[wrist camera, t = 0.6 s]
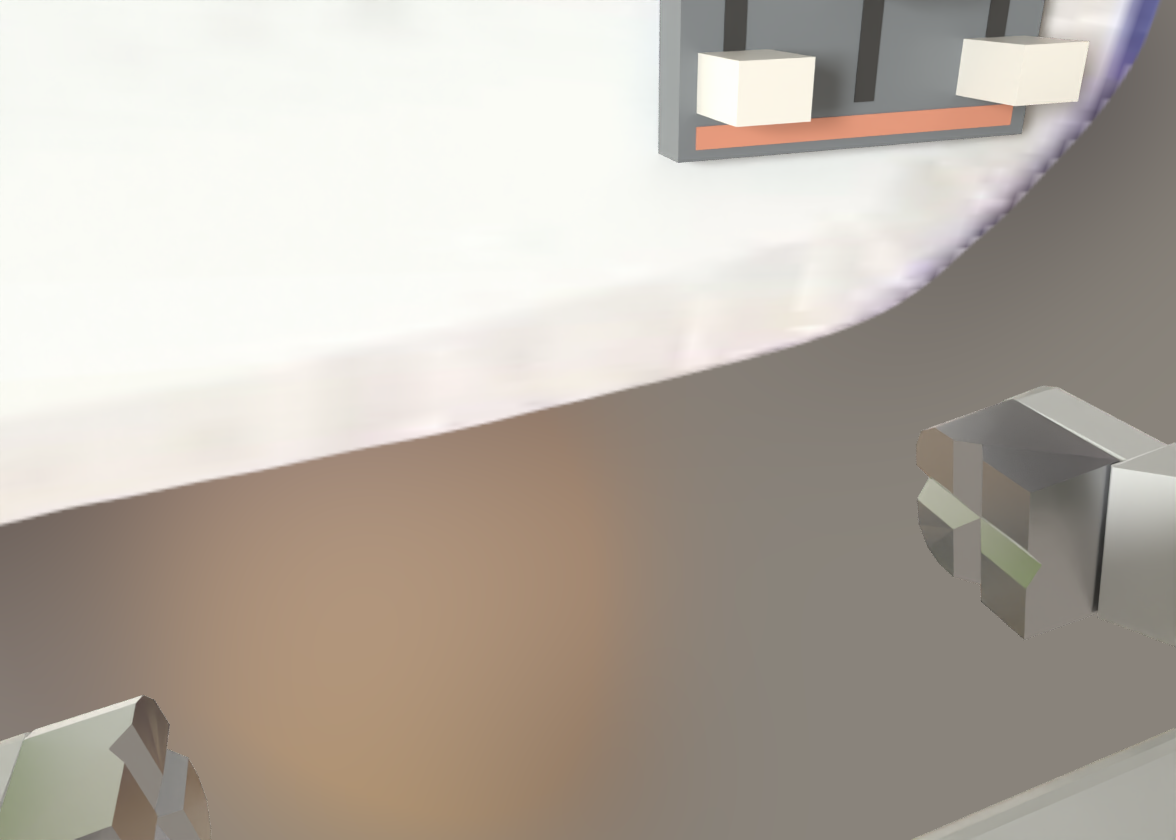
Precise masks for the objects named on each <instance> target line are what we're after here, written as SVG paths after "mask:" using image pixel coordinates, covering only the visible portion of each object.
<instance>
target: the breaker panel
mask: <svg viewBox="0 0 1176 840" xmlns="http://www.w3.org/2000/svg"><path fill="white" fill-rule="evenodd" d="M1044 1H1045V0H660V49H659V154H661V155H663V156H665V157H667V158H669V159H671V160H673V161H676V162H678V163H681V162H693V161H705V160H717V159H728V158H740V157H752V156H764V155H776V154H788V153H800V152H812V151H824V150H835V149H847V148H859V147H871V146H883V145H895V144H907V143H919V142H931V141H942V140H954V139H966V138H978V137H990V136H1002V135H1014V134H1021V133H1022V128H1023V122H1024V116H1025V110H1026V105H1037V104H1050V103H1063V102H1077V101H1078V98H1079V93H1080V88H1081V83H1082V78H1083V73H1084V67H1085V62H1086V57H1087V52H1088V47H1089V42H1090V41H1079V40H1068V39H1057V38H1046V37H1038V36H1039V30H1040V24H1041V18H1042V13H1043V7H1044Z"/></svg>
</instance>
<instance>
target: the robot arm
mask: <svg viewBox="0 0 1176 840" xmlns="http://www.w3.org/2000/svg"><path fill="white" fill-rule="evenodd" d="M916 465H917V466H918V467H919V468H920V469H921V470H922V471H923V472H924V473H925V474H926V475H927V476H928V477H929V479H928V481H927V482H926V484H925V486H924V488H923V490H922V492H921V493H920V495H919V497H918V498H917V502H918V503H917V504H918V518H919V526H920V529H921V531H922V534H923V536H924V539H925V542H926V544H927V547H928V548H929V550H930V551H931V553H932V554H933V556H934V557H935V558H936V560H937V561H938V563H939V564H940V565H941V566H942V567H943V568H944V569H945V570H946V571H948V572H949V573H950V574H951V575H952V576H953V577H955V578H958V579H962V580H965V581H969V582H972V583H976V584H979V585H980V593H981V602H982V603H983V604H984V605H985V606H986V607H988V608H989V609H990V610H991V611H992V612H993V613H994V614H996V615H997V616H998V617H999V618H1000V619H1001V620H1002V621H1003V622H1004V623H1006V624H1007V625H1008V626H1009V627H1010V628H1011V629H1012V630H1014V631H1015V632H1016V633H1017V634H1018V635H1019V636H1020V637H1022V638H1023V639H1024V640H1025V639H1028V638H1031V637H1034V636H1036V635H1039V634H1042V633H1045V632H1048V631H1050V630H1053V629H1056V628H1059V627H1061V626H1064V625H1067V624H1070V623H1072V622H1075V621H1078V620H1081V619H1084V618H1087V617H1089V616H1092V615H1095V614H1098V616H1097V618H1099V619H1102V620H1105V621H1107V622H1110V623H1113V624H1116V625H1118V626H1121V627H1123V628H1126V629H1129V630H1131V631H1134V632H1137V633H1139V634H1142V635H1145V636H1147V637H1150V638H1153V639H1156V640H1158V641H1161V642H1163V643H1166V644H1169V645H1171V646H1174V647H1176V442H1175V443H1172V444H1170V445H1166V444H1165V443H1163V442H1161V441H1159V440H1157V439H1155V438H1153V437H1151V436H1150V435H1148V434H1145V433H1144V432H1142V431H1140V430H1138V429H1136V428H1134V427H1132V426H1131V425H1129V424H1127V423H1125V422H1123V421H1121V420H1119V419H1117V418H1115V417H1113V416H1112V415H1110V414H1108V413H1106V412H1104V411H1102V410H1100V409H1098V408H1096V407H1094V406H1093V405H1091V404H1089V403H1087V402H1085V401H1083V400H1081V399H1079V398H1077V397H1075V396H1074V395H1072V394H1069V393H1068V392H1066V391H1064V390H1062V389H1060V388H1058V387H1052V386H1040V387H1038V388H1035V389H1032V390H1030V391H1027V392H1024V393H1022V394H1019V395H1016V396H1014V397H1011V398H1008V399H1006V400H1003V401H1002V402H1001V403H999V404H996V405H993V406H990V407H988V408H985V409H982V410H979V411H976V412H973V413H970V414H967V415H965V416H962V417H959V418H956V419H953V420H950V421H947V422H945V423H942V424H939V425H936V426H933V427H930V428H928V429H925V430H922V431H921V432H920V435H919V438H918V441H917V444H916ZM169 726H170V724H169V723H168V721H167V720H166V718H165V716H164V715H163V713H162V711H161V710H160V708H159V706H158V705H157V703H156V702H155V700H154V699H151V698H149V697H147V696H144V695H142V696H139V697H136V698H133V699H129V700H126V701H123V702H120V703H117V704H114V705H111V706H108V707H104V708H101V709H98V710H95V711H92V712H89V713H86V714H82V715H80V716H76V717H73V718H70V719H67V720H64V721H61V722H57V723H55V724H51V725H48V726H45V727H42V728H39V729H35V730H34V731H33V732H28V733H24V734H21V735H18V736H15V737H12V738H9V739H6V740H3V741H0V840H211V825H210V818H209V811H208V805H207V799H206V796H205V793H204V790H203V788H202V785H201V782H200V779H199V776H198V774H197V773H196V771H195V769H194V767H193V765H192V763H191V762H190V760H189V758H188V757H185V756H183V755H180V754H178V753H176V752H173V751H171V750H168V749H167V742H168V734H169ZM912 840H1176V728H1173V729H1171V730H1169V731H1166V732H1164V733H1162V734H1159V735H1157V736H1155V737H1152V738H1150V739H1147V740H1145V741H1143V742H1140V743H1138V744H1136V745H1133V746H1131V747H1129V748H1126V749H1124V750H1121V751H1119V752H1117V753H1114V754H1112V755H1110V756H1107V757H1105V758H1103V759H1100V760H1098V761H1096V762H1093V763H1091V764H1088V765H1086V766H1084V767H1081V768H1079V769H1077V770H1074V771H1072V772H1070V773H1067V774H1065V775H1062V776H1061V777H1058V778H1056V779H1053V780H1051V781H1048V782H1046V783H1044V784H1041V785H1039V786H1037V787H1034V788H1032V789H1029V790H1027V791H1025V792H1023V793H1020V794H1018V795H1016V796H1013V797H1011V798H1008V799H1006V800H1004V801H1001V802H999V803H996V804H994V805H992V806H989V807H987V808H985V809H982V810H980V811H978V812H975V813H973V814H971V815H968V816H966V817H964V818H961V819H959V820H956V821H954V822H952V823H949V824H947V825H945V826H942V827H940V828H938V829H935V830H933V831H930V832H928V833H926V834H923V835H921V836H919V837H916V838H914V839H912Z"/></svg>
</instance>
